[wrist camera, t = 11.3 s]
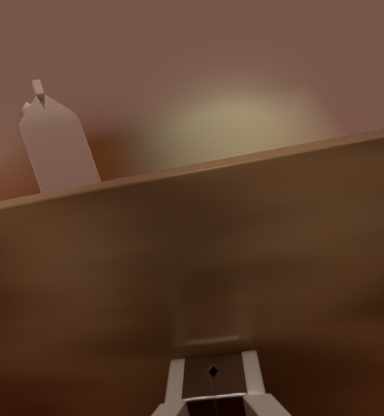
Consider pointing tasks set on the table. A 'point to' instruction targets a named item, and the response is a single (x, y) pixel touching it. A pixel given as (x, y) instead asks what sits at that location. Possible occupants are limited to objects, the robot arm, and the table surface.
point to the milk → (56, 144)
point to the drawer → (200, 282)
